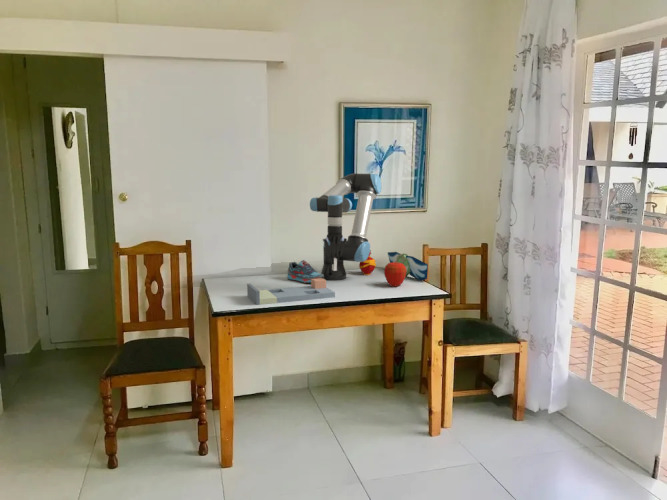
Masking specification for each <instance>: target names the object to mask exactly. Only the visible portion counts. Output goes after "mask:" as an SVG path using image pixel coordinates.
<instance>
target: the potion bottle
mask: <svg viewBox="0 0 667 500" xmlns="http://www.w3.org/2000/svg"><path fill="white" fill-rule="evenodd" d="M371 251H372V250H371V249H370V253H369V256H368V258H367V259H366V260H365V261H364V262H359V265H358V267H359V268H358V269H360V271H361V272H362V273H363V275H364V276H370V275H371V274H372V272H373V271H375V269H376V266H377V263H376V262H377V260H375V258H372V257H371V254H372V252H371Z"/></svg>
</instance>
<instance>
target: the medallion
mask: <svg viewBox="0 0 667 500" xmlns="http://www.w3.org/2000/svg"><path fill="white" fill-rule="evenodd" d="M387 257H388V259H389V263H393V262H395V261H396V262H397V263H402V264H403V265H404V266H405V267H406V270H407V271H406V277H408V276H409V275H410V276H411V277H412V278H415V279H416V280H419V281H424V280H427V279H428V270H429V264H428V263H426V262H424V261H422V260H420V259H418V258H416V257H415V256H411V255H408V253H399V252H397V251H391V252H387Z"/></svg>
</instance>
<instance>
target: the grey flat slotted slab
mask: <svg viewBox="0 0 667 500" xmlns="http://www.w3.org/2000/svg"><path fill="white" fill-rule="evenodd" d="M246 285H247V286H246V289H247V290H246V291H247V292H246V293H247V297H248V299H250V300H251V301H252V302H253V303H254V304H255V305H260V306H261V305H268V304H269V305H270V304H278V303H287V302H288V303H289V302H299V301H309V300H318V299H328V298H335V297H336V291H334V290H332V289H330V288H328V287H326V288H320V289H315V288H313V287H311V285H305V286H295V287H283V288H281V287H280V288H273V289H272V288H270V289H269V288H268V289H260V290H259V289H258V288H257V287H255V285H253V284H252V283H251V282H249V283H247V284H246Z"/></svg>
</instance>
